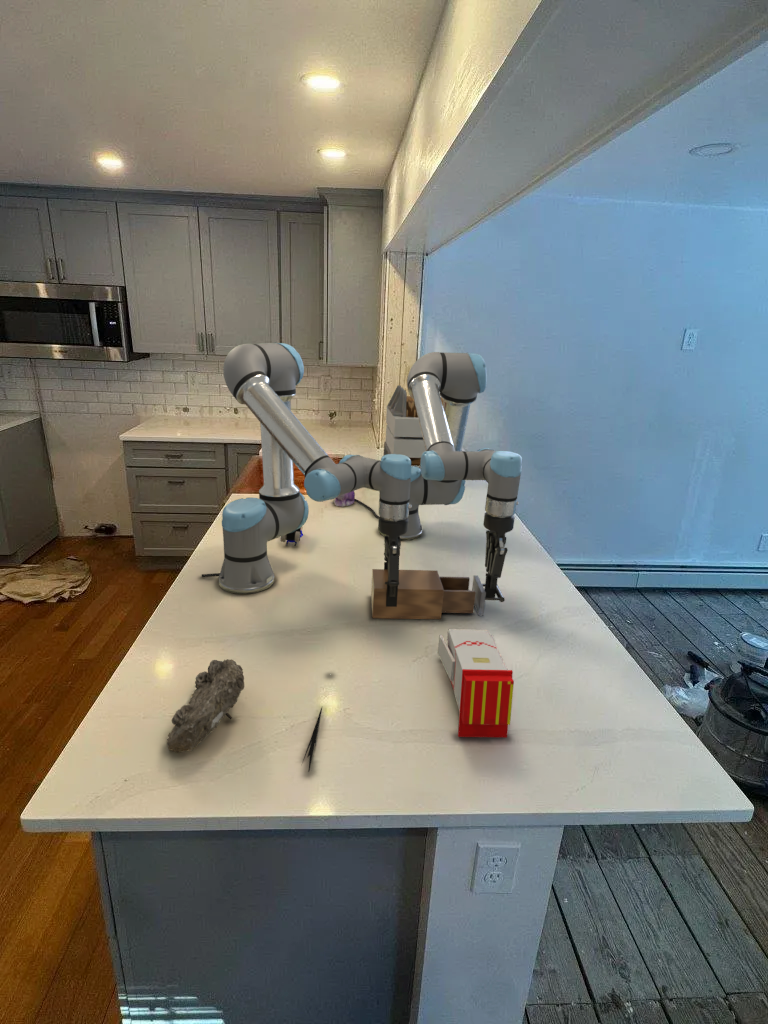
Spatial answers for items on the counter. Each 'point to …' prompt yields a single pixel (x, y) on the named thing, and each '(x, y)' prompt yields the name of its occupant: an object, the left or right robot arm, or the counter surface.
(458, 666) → the toy
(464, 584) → the drawer
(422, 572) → the cabinet
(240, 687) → the fossil
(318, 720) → the feather
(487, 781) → the counter surface
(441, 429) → the right robot arm
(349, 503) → the figurine
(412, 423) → the transformer
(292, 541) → the figurine character
